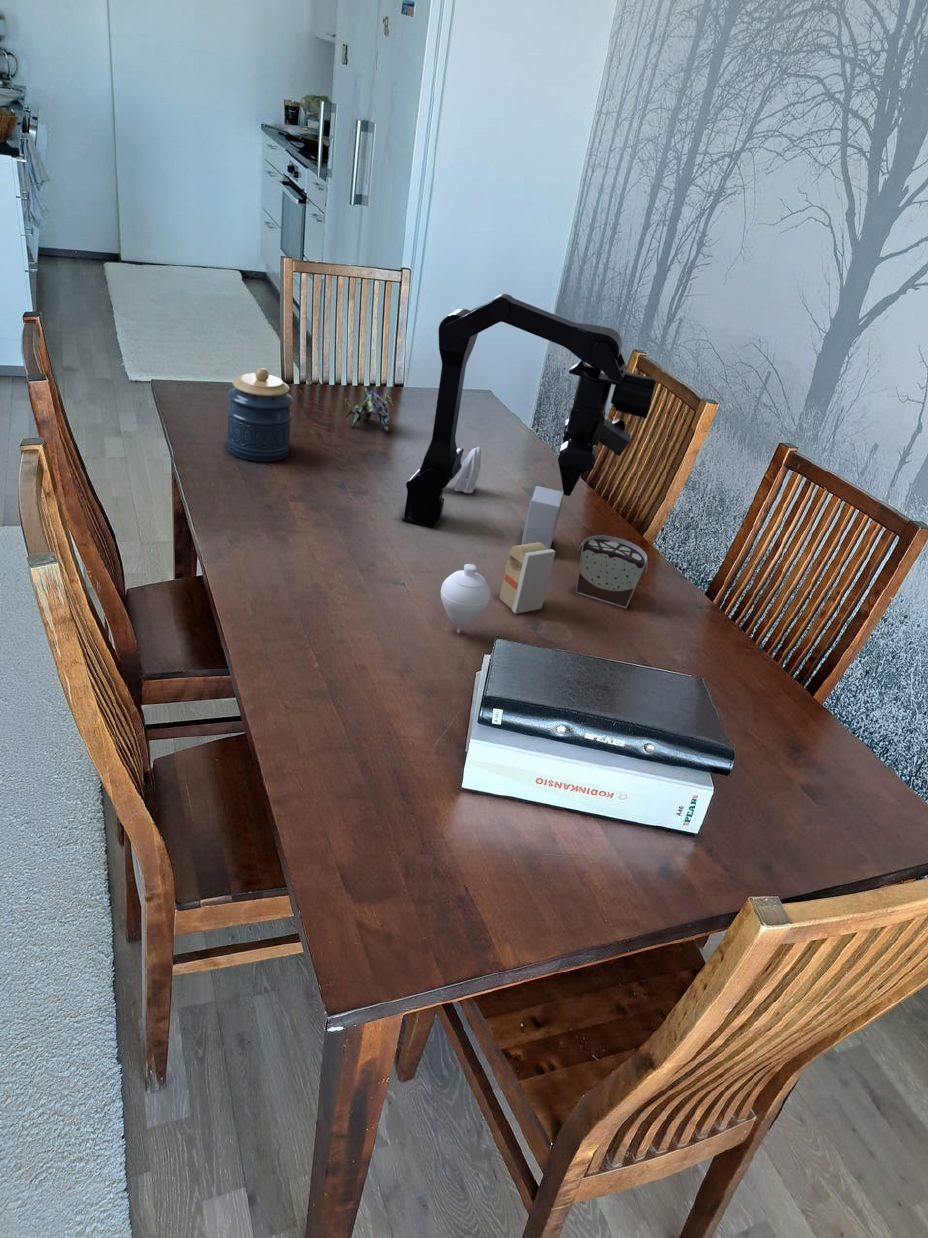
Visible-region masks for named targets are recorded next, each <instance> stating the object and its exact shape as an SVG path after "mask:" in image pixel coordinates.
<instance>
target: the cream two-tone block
mask: <svg viewBox="0 0 928 1238" xmlns="http://www.w3.org/2000/svg"><path fill="white" fill-rule="evenodd" d="M555 555H556V550H555V549H552V548H550V549H548V550H547V549H546V547H545V546H544V544H542V543H540V542H537V543H531V544H524V545H521V544H518V545H513V546H512V547H511V548H510V549H509V552H508V557H507V562H506V565H505V570H504V574H503V575H504V576H503V579H502V584H501V588H500V594H499V600H501V602H503V603H504V604H505V605H506V606H507V607H509V608H510V610H511V612H512V613H514V614H515V615H517V614H522V613H527V612H532V611H536V610H537V611H538V610H541V609H542V608H543V604H544V599H545V596H546V592H547V588H548V584H549V579H550V575H551V573H552V572H551V571H552V569H553V568H552V567H553V564H554V559H555Z"/></svg>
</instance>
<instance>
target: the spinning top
mask: <svg viewBox="0 0 928 1238" xmlns="http://www.w3.org/2000/svg"><path fill="white" fill-rule="evenodd" d="M477 570H478V567H477V565H475V564H473V563H466V564H464V565H463V569H460V570H455V571H454V572H453V573H451V574H450V575H448V577H446V578H445V580H444V581H443V583H442V585H441V587H440V598H441V602H442V605H443V607H444V611H445V612H446V614H447V616H448V617H449V619H450V620H451V622H452V624H453V625H454V626H455V628H456V629H457V631H456V633H457V634H460V633H461V629H463V628H465V627H467V626H469V625H470V624H471V623H472V622H474V621H475V620H476V619H477V618H478V617H479V616H480V615H482V613H483V612H484V611H485V610H486V609H487V607H488V605H489V603H490V601H491V589H490V586H489V584H488V582H487V581H486V578H485V577H484V576H483V575H481V574H480V573H478V572H477Z"/></svg>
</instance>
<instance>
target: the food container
mask: <svg viewBox="0 0 928 1238" xmlns="http://www.w3.org/2000/svg"><path fill="white" fill-rule="evenodd" d="M580 550H581V551H580ZM579 551H580V558H579V564H578V571H577V579H576V586H575V591H574V592H575V594H578V595H581V596H584V597H587V598H590V599H594V600H597V601H599V602H603V603H606V604H609V605H613V606H616V607H619V608H622V609H626V610H627V608H628V606H629V604H630V602H631V600H632V597H633V595H634V592H635V590H636V588H637V586H638V583H639V581H640V578H641V576H642V574H643V572H644V570H645V572H647V573H648V564H649V560H648V555H647V553H646V552H645V551H644V550H643V549H642V548H641V547H640V546H638V545H637V544H635V543H633V542H631V541H629V540H626V539H623V538H619V537H616V536H610V535H591V536H588V537H586V538H585V539H584V540H583V541H582V542H581V544H580V545H579V547H578V549H577V552H579Z"/></svg>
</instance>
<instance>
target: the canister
mask: <svg viewBox="0 0 928 1238" xmlns="http://www.w3.org/2000/svg"><path fill="white" fill-rule="evenodd" d="M232 386H233V387H232V388H231V389H229V391H228V393H227V396H228V398H229V399H230V403H229V406H228V407H227V413H228V414H227V416H228V417H227V435H226V445H227V450H228V452H229V453H230V454H232V455H233V456H235V457H237V458H240V459H243V460H247V461H252V462H263V463H266V462H276V461H280V460H282V459H285V458H286V457H288V454H289V450H290V449H291V448H290V447H291V446H290V445H291V442H290V433H291V422H292V421H291V420H292V418H293V414H292V412H291V406H292V404H293V403H294V398H293V397H292V396H291V395H290V393H289V392H290V389H291V388H290V386H289V384H287V383H286V382H284V380H282V378H280V377H278V376H275V375H272V374H270V373H269V371H268V370H267V369H266V368H263V367H260V368H257V369H256V371H255V372H250V373H249V372H248V373H245V374H242V375H241V376H239V377H237V378H235V379H234V380H233V381H232Z"/></svg>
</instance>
